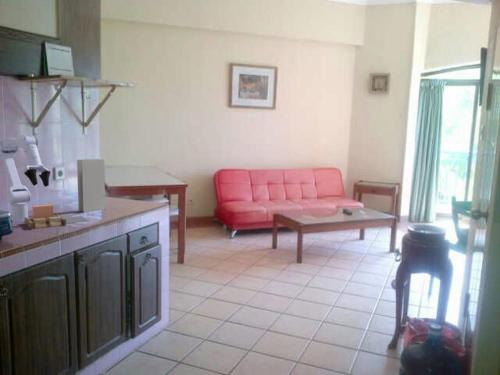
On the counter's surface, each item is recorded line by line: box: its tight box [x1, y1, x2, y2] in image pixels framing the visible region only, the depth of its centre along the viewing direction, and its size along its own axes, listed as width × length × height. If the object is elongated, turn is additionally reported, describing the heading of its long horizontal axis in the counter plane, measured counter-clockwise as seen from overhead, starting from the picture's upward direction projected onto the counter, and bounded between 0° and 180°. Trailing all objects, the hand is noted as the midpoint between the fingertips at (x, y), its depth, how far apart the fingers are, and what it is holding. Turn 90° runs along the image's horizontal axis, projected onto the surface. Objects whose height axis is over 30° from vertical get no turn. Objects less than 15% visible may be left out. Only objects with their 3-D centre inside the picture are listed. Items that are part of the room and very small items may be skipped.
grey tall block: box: [76, 158, 106, 213], centre depth 265 cm, size 14×6×30 cm, turn 141°
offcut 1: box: [32, 218, 46, 229], centre depth 222 cm, size 3×5×4 cm, turn 127°
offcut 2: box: [49, 216, 62, 227], centre depth 226 cm, size 3×5×4 cm, turn 128°
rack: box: [24, 213, 67, 230], centre depth 228 cm, size 15×16×4 cm
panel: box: [32, 203, 54, 222], centre depth 230 cm, size 3×9×9 cm, turn 128°
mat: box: [63, 215, 90, 225], centre depth 240 cm, size 14×12×1 cm
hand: (41, 185), depth 218 cm, fingers open, 7 cm apart
